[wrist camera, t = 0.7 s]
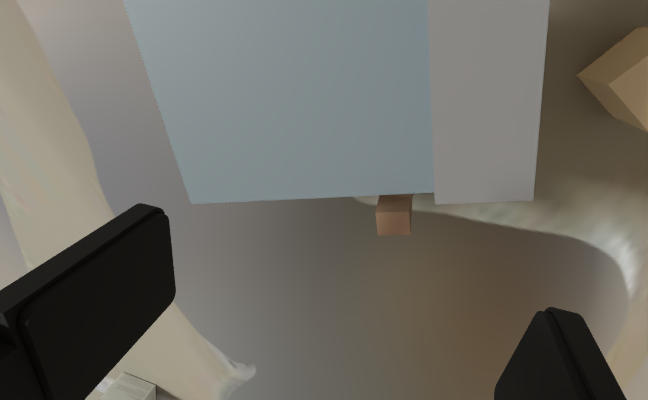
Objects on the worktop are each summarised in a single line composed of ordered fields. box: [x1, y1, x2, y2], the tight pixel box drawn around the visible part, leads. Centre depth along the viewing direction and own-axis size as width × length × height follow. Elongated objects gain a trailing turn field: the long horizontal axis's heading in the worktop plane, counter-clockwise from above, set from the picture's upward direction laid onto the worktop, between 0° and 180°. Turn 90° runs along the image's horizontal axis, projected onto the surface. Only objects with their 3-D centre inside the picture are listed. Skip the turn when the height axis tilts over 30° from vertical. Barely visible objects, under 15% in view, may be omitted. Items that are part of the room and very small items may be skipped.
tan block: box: [577, 27, 648, 132], centre depth 27 cm, size 5×5×6 cm
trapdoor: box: [123, 0, 550, 204], centre depth 21 cm, size 22×16×4 cm
